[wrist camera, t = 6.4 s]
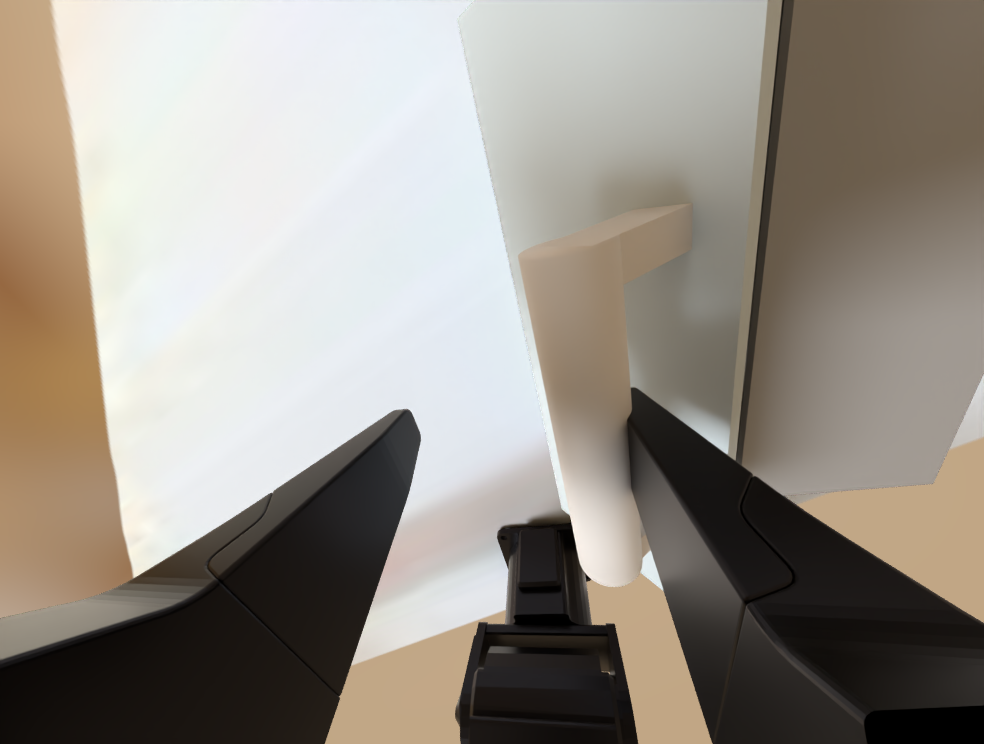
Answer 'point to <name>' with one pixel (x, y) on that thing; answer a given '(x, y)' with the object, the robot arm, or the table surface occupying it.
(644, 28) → the rear flap
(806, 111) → the cabinet
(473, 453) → the table surface
